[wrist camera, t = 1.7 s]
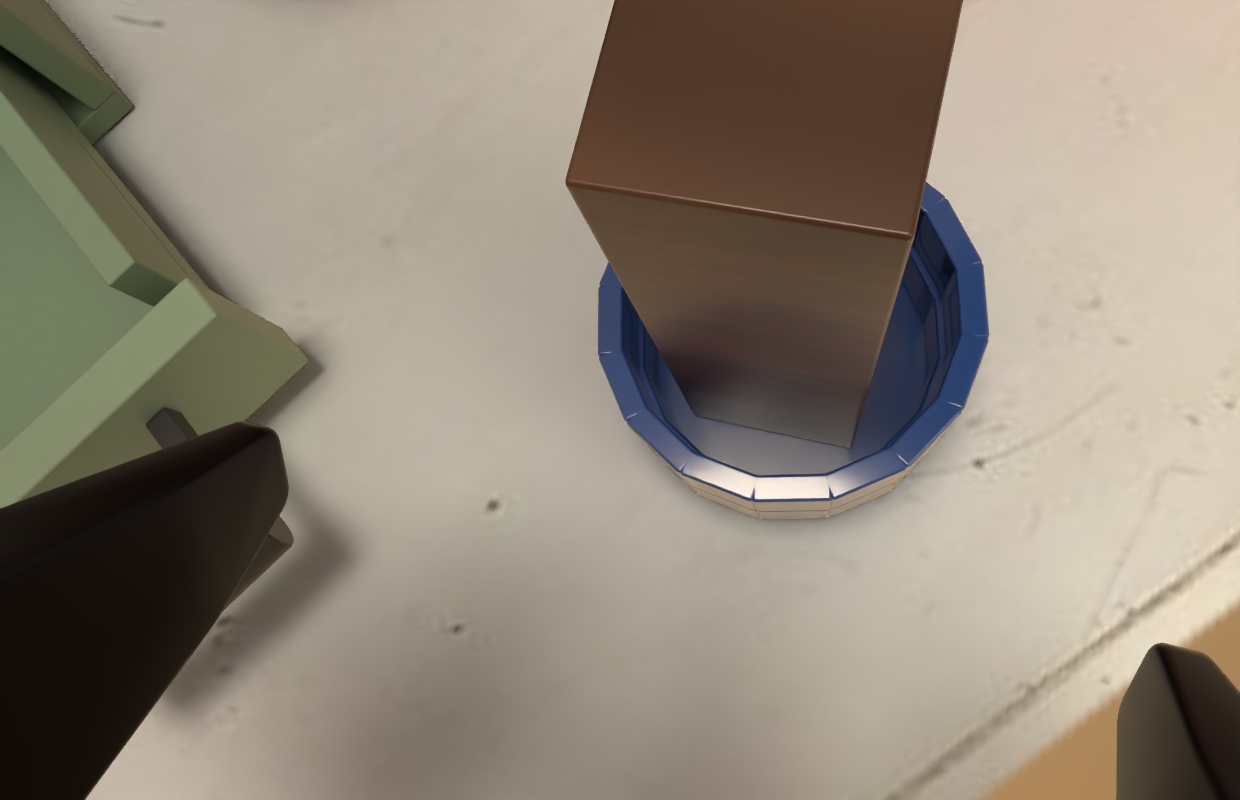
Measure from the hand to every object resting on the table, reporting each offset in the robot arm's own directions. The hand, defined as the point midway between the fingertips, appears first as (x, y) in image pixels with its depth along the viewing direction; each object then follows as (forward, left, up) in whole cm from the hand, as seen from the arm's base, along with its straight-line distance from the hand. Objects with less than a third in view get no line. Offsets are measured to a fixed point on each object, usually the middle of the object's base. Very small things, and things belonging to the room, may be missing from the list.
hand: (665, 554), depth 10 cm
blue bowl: (+5, +1, -12) cm, 13 cm away
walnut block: (+5, +1, -11) cm, 12 cm away
